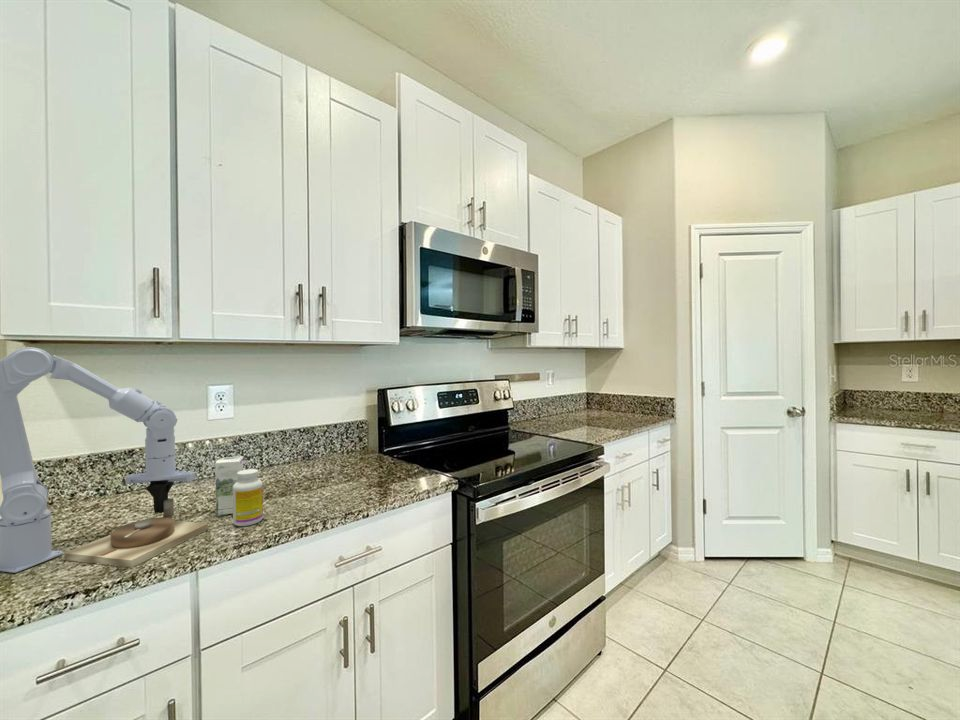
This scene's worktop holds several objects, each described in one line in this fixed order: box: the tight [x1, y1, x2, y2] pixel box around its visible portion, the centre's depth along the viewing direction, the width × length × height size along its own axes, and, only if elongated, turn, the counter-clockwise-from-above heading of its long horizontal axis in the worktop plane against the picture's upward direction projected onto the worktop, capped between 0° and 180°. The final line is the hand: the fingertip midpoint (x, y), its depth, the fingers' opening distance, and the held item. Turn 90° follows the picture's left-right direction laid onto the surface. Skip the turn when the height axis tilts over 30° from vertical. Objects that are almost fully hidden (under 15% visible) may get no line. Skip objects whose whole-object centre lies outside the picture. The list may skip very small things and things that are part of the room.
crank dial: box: [110, 497, 175, 548], centre depth 93 cm, size 15×11×5 cm
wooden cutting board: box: [63, 520, 209, 569], centre depth 91 cm, size 17×18×2 cm
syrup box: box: [214, 455, 244, 517], centre depth 110 cm, size 6×6×14 cm
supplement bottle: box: [232, 468, 264, 527], centre depth 103 cm, size 7×7×13 cm
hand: (161, 511), depth 99 cm, fingers closed, pressing on crank dial
